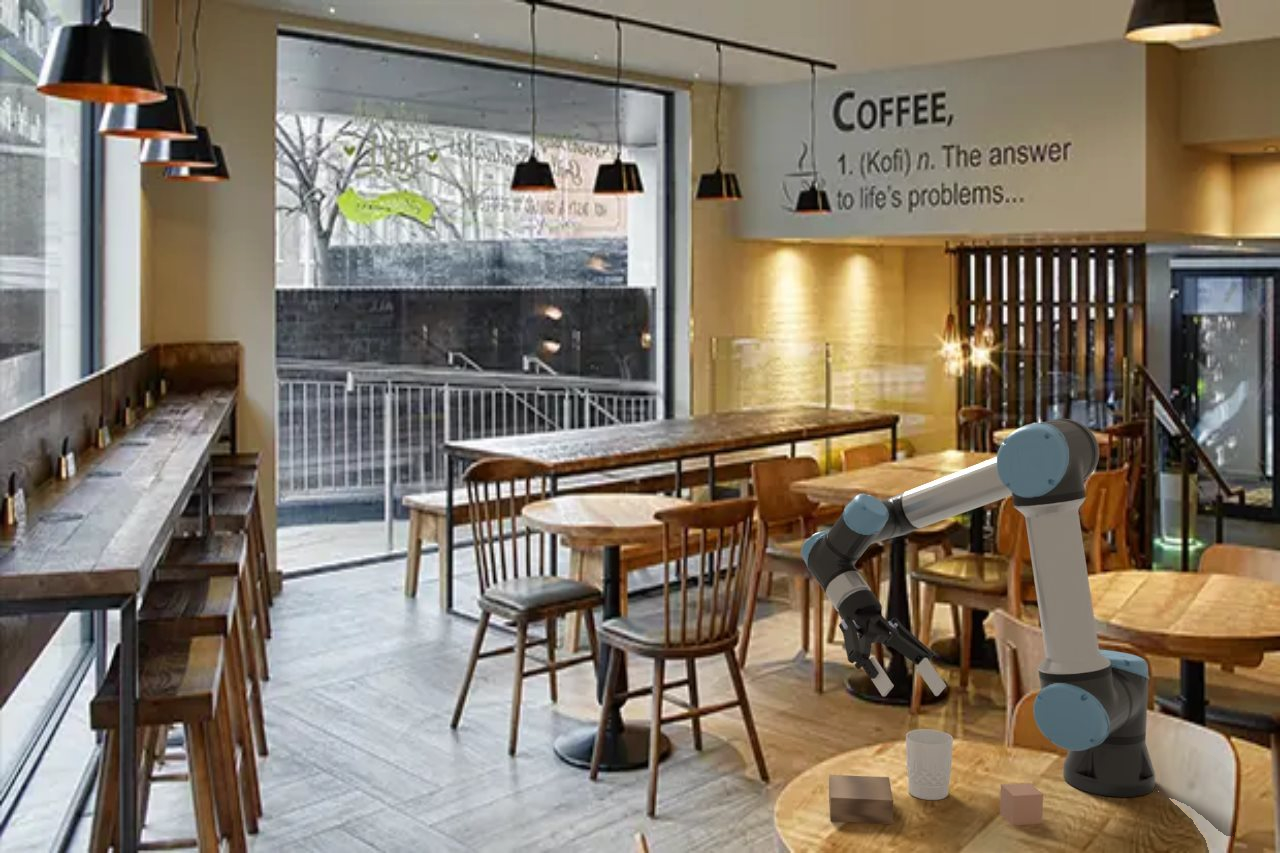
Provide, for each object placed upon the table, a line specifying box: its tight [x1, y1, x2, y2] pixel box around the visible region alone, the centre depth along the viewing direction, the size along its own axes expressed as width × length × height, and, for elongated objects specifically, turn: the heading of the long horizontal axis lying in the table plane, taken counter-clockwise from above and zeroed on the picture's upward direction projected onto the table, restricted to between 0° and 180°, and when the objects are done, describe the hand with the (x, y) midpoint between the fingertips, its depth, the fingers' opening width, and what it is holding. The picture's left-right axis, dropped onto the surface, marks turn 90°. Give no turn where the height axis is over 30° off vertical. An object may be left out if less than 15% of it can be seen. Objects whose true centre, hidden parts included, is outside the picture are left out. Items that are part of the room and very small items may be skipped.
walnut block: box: [828, 774, 894, 825], centre depth 212 cm, size 10×10×4 cm
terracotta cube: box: [999, 782, 1044, 826], centre depth 208 cm, size 5×5×5 cm
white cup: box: [905, 728, 954, 801], centre depth 219 cm, size 8×8×10 cm
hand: (915, 691), depth 222 cm, fingers open, 13 cm apart
